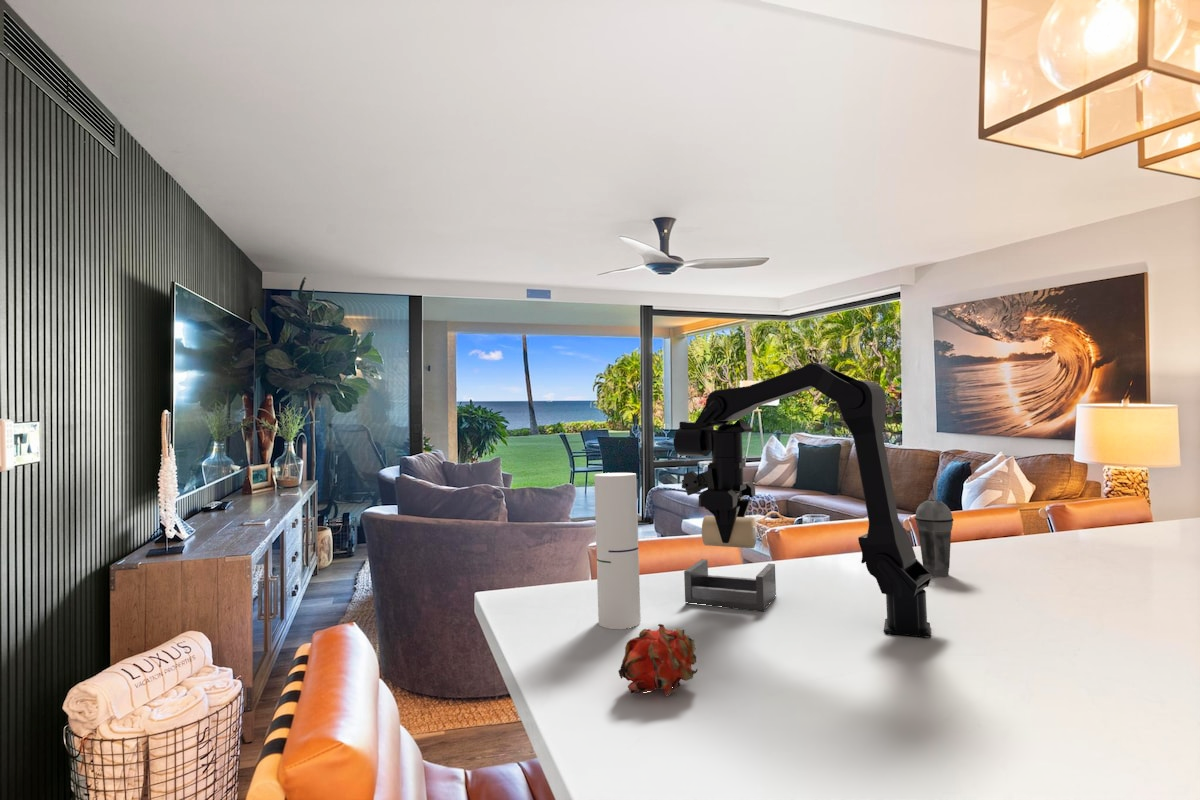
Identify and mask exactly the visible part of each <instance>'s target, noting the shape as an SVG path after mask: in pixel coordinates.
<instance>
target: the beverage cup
mask: <svg viewBox="0 0 1200 800" xmlns="http://www.w3.org/2000/svg"><path fill="white" fill-rule="evenodd" d="M933 484H934V486H933V487H934V490H933V499H928V500H925V501H923V502H922V503H920V504H919V505H918V506H917V508H916V511H915V516H914V520H915V524H916V528H917V530H918V537H919V547H920V555H921V560H922V565H923V566H924V567H925V568H926V569H927V570H928V571H929V572H930V573H931V574H932V577H934V578H947V577H949V576H950V575H949V574H950V573H949V572H950V566H951V565H950V563H951V543H952V542H951V540H952V539H951V538H952V530H953V525H954V523H953V522H954V518H953V513H952V511H951V508H949V507H948V505H947V504H945V503H944V502H942V501H941V500H938V478H934V483H933Z"/></svg>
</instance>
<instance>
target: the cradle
mask: <svg viewBox="0 0 1200 800" xmlns="http://www.w3.org/2000/svg"><path fill="white" fill-rule="evenodd" d="M708 567H709V565H708V559H704V558H703V559H702V558H701V559H700V560H698V561H697V562H695V563H694V564H693V565H691V566H690V567H688V568H687V569H685V570H684V572H683V574H684V602H688V603H697V604H706V605H712V606H722V607H729V608H728V609H733V608H738V609H737V610H743V609H748V610H747V611H753V610H758V611H757V612H765V611H766V610H765V609H767V608H768V607H769V606H770V604H771V603H772V602H773V601H774V599H775V598H776V597H775V595H776V596H777V586H776V585H777V584H776V582H777V581H776V563H768V564H766V565H765V566H764V568H762V570H760V572H759V573H758V574H757V575H756V576H755V578H751V577H737V576H736V577H735V576H725V575H724V576H723V575H721V576H720V575H713V574H712V575H709V568H708ZM774 597H775V598H774ZM773 598H774V599H773ZM772 600H773V601H772ZM771 601H772V602H771ZM770 602H771V603H770ZM769 603H770V604H769ZM768 605H769V606H768ZM712 606H711V607H712ZM767 606H768V607H767ZM722 607H721V608H722ZM766 607H767V608H766ZM764 610H765V611H764Z"/></svg>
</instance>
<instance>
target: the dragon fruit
mask: <svg viewBox="0 0 1200 800" xmlns="http://www.w3.org/2000/svg"><path fill="white" fill-rule="evenodd" d="M657 626H658V627H659V628H658V629H657V630H651V629H646V628H644V629H642V630H640V632H639V634H638V636H636V637H634V638H632V639H628V641H627V642H626V644H625V648H624V650H625V651H624V656H623V659H622V662H621V665H620V669H619V670H618V675H619V677H620V679H621V680H622V679H623V678H624V679H625V680H626V681H628V682H629V681H631V682H630V683H629V684H628V685H627V689H628V690H629V691H630V693H631V694H634V693H640V694H644V693H643V692H647V691H652V692H653V691H655V690H664V695H665V694H666V695H669V694H670V695H671V694H672V693H674V692H675V691H676V690H677V689H678V688H679V687H680V686H681V681H684V682H685V681H686V682H687V681H688V680H692V679H693V678H694V675H696V673H698V668H696V669H695V670H694V669H692V666H693V665H695V663H697V655H696V654H695V651H696V649H697V648H696V644H695V639H692V638H690V636H689V635H686V634H685V630H684V629H681V628H675V629H674V630H672V629H670V630H669V629H668V628H666V627H665V625H664V624H662V623H659V624H657ZM672 687H673V688H672ZM666 695H665V696H666ZM670 695H669V696H670Z"/></svg>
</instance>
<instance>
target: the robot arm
mask: <svg viewBox="0 0 1200 800" xmlns="http://www.w3.org/2000/svg"><path fill="white" fill-rule="evenodd" d="M811 389H816V390H817V391H819V392H820V393H821V394H823V395H824V397H825V396H826V397H827V398H828V399H831V400H833V401H834V402H836V403H837V407H838V409H839V412H840V414H841V417H842V421H843V422H844V423H845V425H846V426H847V428H848V430H849V432H850V434H851V436H852V438H853V441H854V447H855V452H856V453H855V454H856V459H857V464H858V470H859V475H860V481H861V486H862V492H863V497H864V502H865V508H866V513H867V519H868V528H867V529H868V530H867V533H864V534H863V535H860V536H858V538H857V540H858V544H859V548H860V550H861V556H862V557H861V560H860V561H861V564H865V567H866V569H867V571H868V573H869V575H870V576H872V577H873V578H874V579H875V580H876V583H877V585H878V587H879V590H880V592H881V594H882V595H885V602H886V618H885V619H884V626H883V633H884V634H885V633H886V634H891V635H892V634H893V635H903V636H904V635H905V636H915V637H923V638H931V636H932V635H931V623H930V622H928V614H927V613H928V612H927V610H928V609H927V591H926V590H925V589H926V588H928V587H929V586H930V583H931V580H932V574H931V573H930V572H929V571H928V570H927V569H926V568H925V567H924V566H923V563H921V562H920V561H919V560H918V559H917V557H916V552H915V551H914V548H913V544H912V542H911V540H910V537H909V535H908V533H907V532H906V530H905V528H904V526H903V525H902V523H901V520H900V519H899V515H898V509H897V505H896V499H895V495H894V494H895V493H894V487H893V482H892V478H891V472H890V466H889V461H888V455H887V450H886V446H885V439H884V436H883V435H884V433H883V432H884V427H885V420H886V415H887V414H886V412H887V407H886V399H887V398H886V393H885V390H884V388H883V386H881V385H879V384H878V383H877V382H875V381H871V380H863V379H861V380H860V379H856V378H854V377H852V376H850V375H847V374H845V373H842V372H840V371H838V370H836V369H833V368H832V367H830V366H829V365H827V364H825V363H822V362H821V363H820V362H808V363H807V364H805V365H804V366H802V367H799V368H796V369H793V370H790V371H788V372H785V373H782V374H779V375H776V376H773V377H770V378H768V379H765V380H762V381H759V382H755V383H754V384H751V385H747V386H739V387H730V388H724V389H716V390H713V391H712V392H710V393H709V394H708V395H707V398H706V399H705V404H704V407H703V409H702V410H701V412H700V414H699V415H698V416H697V418H696V421H695V422H693V421H680V422H679V428H678V429H677V430H676V432H675V434H674V438H673V447H674V451H675V452H676V453H677V455H678V456H680V457H681V456H682V457H708V456H710V454H711V462H709V463H708V465H707V470H706V471H703V472H702V473H701V472H700V473H699V474H697V473H696V472H695V471H694V470H692V471H688V472H686V473H683V479H682V480H681V488H682V489H685V492H686V494H687V496H691V495H694V494H697V493H699V492H701V491H702V490H703V491H702V492H701V493H700V494H699V495H698V507H700V508H704V509H705V510H707V511H709V512H710V513H711V514H712V516H714V517H715V520H716V523H717V526H718V529H719V533H720V536H721V539H722V542H723V543H729V540H730V537H731V534H732V531H733V528H734V524H735V521H736V518H737V517H746V514H747V512H748V510H749V507H750V505H751V503H752V499H750V498H754V497H755V496H756V486H755V485H754V484H753V483H752V482H751V481H744V468H746V467H747V466H746V464H747V463H746V461H744V459H743V458H744V455H743V433H753V431H754V429H753V427H751V426H750V425H749V424H748V423H746V420H745V419H742V418H744V417H745V416H747V415H749V414H751V413H752V412H754V411H755V410H756V409H757V408H759V407H760V406H763V405H766V404H769V403H772V402H775V401H778V400H780V399H785V398H787V397H791V396H792V395H797V394H800V393H802V392H805V391H808V390H811ZM731 421H735V423H729V422H731ZM715 427H718V428H717V429H715ZM704 489H706V490H704ZM746 496H748V497H749V498H745V497H746Z"/></svg>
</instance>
